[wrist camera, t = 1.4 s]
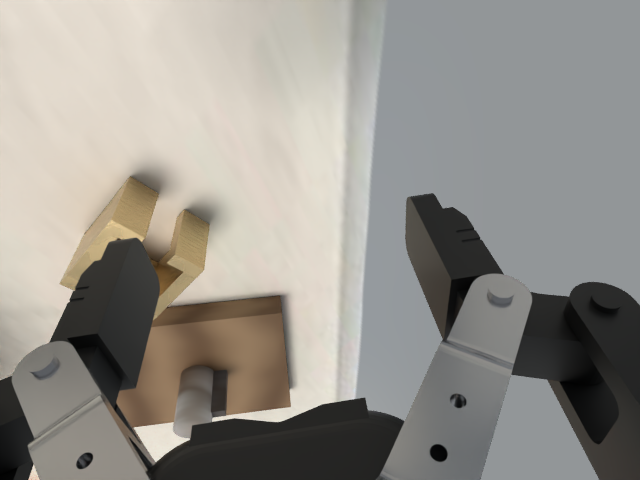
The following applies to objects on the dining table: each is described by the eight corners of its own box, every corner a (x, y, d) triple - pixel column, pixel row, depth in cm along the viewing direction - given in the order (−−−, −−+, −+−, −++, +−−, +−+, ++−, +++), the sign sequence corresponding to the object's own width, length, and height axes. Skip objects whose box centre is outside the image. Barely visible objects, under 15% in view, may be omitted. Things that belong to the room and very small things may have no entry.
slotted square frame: (162, 274, 33) (150, 323, 29) (83, 235, 30) (59, 283, 26) (209, 224, 31) (203, 270, 27) (130, 176, 28) (111, 219, 24)
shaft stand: (132, 409, 43) (116, 481, 38) (84, 316, 35) (54, 391, 29) (289, 389, 45) (295, 455, 40) (280, 295, 36) (286, 364, 31)
